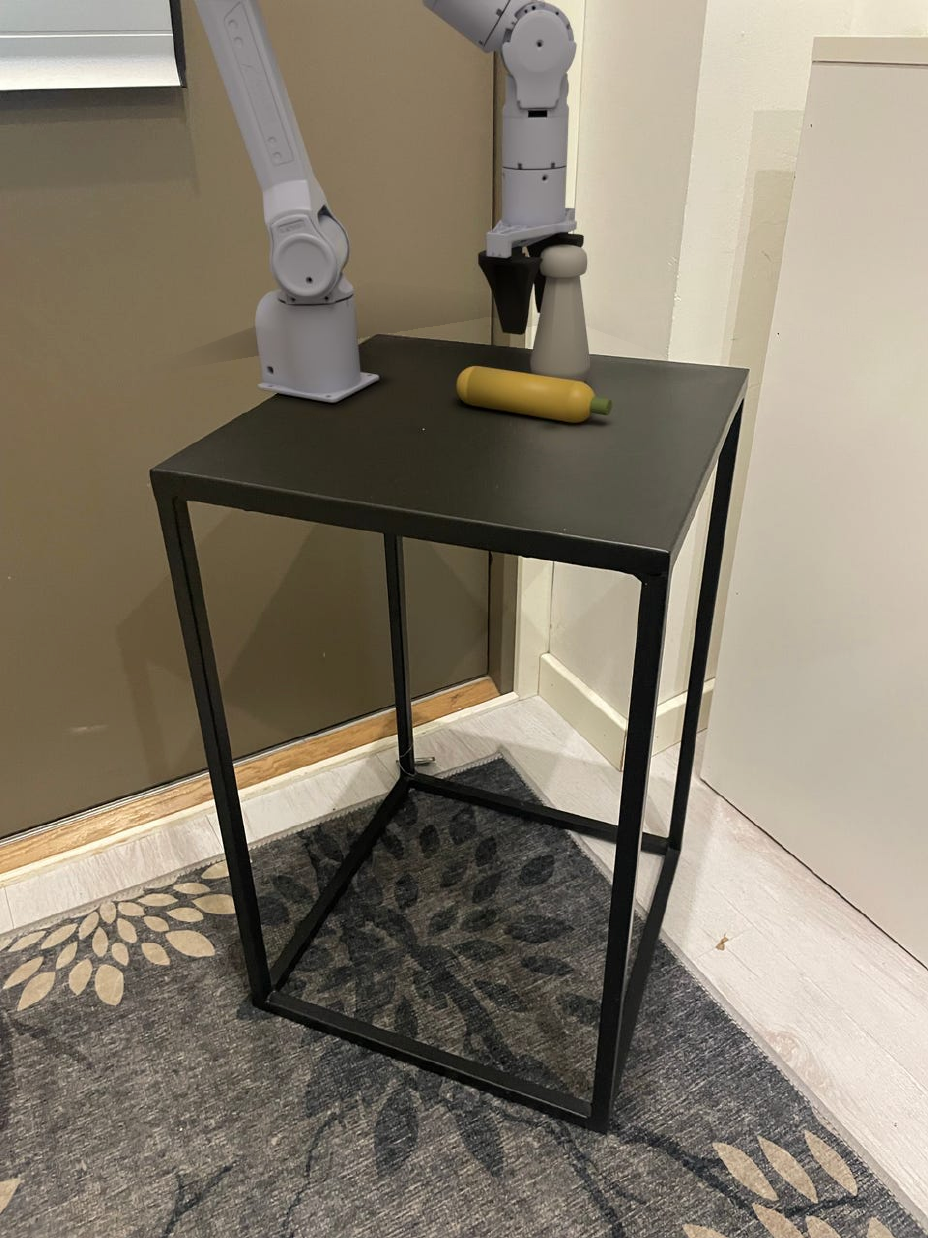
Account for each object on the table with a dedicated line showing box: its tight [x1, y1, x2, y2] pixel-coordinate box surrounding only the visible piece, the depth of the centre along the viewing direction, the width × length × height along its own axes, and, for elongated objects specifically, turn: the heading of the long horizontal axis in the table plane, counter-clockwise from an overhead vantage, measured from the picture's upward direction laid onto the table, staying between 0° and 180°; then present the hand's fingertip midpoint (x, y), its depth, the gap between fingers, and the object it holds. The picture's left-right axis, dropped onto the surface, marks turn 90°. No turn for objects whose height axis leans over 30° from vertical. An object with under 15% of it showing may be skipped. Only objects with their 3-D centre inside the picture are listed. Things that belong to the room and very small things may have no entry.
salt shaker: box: [529, 245, 591, 383], centre depth 86 cm, size 6×6×13 cm
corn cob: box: [455, 365, 613, 424], centre depth 83 cm, size 15×4×4 cm, turn 61°
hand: (531, 322), depth 88 cm, fingers open, 7 cm apart
